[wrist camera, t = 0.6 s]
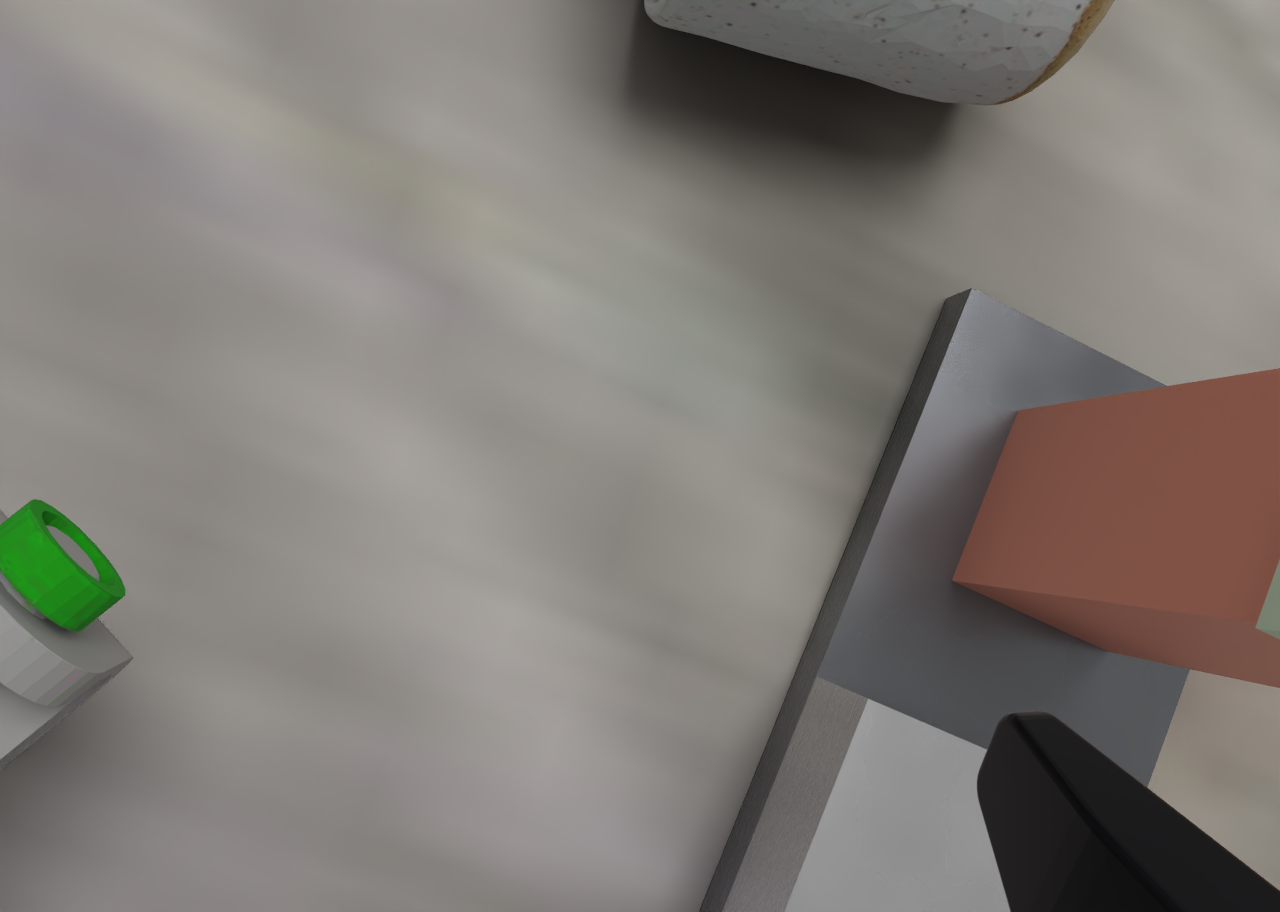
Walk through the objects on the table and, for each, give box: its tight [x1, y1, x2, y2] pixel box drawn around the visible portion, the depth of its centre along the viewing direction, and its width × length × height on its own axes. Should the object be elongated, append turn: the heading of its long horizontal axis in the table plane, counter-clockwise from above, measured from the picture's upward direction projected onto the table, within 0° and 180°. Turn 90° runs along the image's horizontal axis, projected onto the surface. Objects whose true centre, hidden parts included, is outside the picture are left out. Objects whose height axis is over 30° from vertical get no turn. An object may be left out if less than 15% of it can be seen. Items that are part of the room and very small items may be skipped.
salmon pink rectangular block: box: [952, 368, 1280, 688], centre depth 19 cm, size 4×4×12 cm
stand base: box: [700, 288, 1190, 912], centre depth 24 cm, size 16×8×4 cm, turn 157°
